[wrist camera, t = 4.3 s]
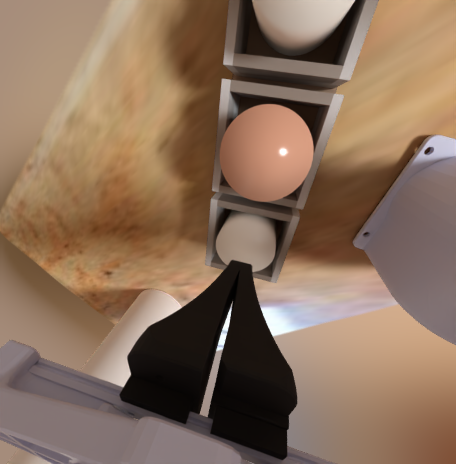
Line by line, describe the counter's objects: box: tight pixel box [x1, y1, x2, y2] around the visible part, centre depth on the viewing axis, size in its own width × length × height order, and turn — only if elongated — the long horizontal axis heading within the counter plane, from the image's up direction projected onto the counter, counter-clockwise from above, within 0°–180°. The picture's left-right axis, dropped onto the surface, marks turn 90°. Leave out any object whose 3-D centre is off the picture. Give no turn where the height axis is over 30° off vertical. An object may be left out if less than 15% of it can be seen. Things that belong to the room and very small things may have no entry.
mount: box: [205, 0, 379, 283], centre depth 14 cm, size 21×7×4 cm, turn 173°
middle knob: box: [220, 104, 313, 202], centre depth 12 cm, size 5×5×4 cm
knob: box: [216, 210, 276, 272], centre depth 17 cm, size 5×5×4 cm
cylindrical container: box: [7, 289, 181, 464], centre depth 20 cm, size 7×7×25 cm
